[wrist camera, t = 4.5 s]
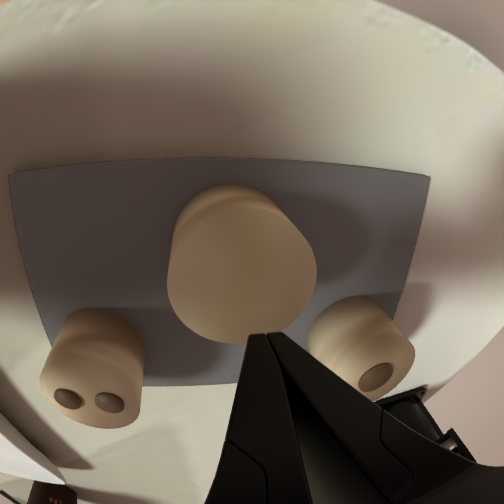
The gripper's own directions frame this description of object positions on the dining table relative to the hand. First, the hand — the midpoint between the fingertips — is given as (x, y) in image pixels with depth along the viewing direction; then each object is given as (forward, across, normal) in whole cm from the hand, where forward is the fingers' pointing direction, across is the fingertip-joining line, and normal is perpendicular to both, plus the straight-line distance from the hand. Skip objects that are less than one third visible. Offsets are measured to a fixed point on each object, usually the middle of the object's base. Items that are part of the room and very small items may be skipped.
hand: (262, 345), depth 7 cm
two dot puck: (+7, +7, +6) cm, 12 cm away
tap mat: (+8, 0, +3) cm, 8 cm away
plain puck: (+7, 0, 0) cm, 7 cm away
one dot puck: (+7, -7, +6) cm, 12 cm away
